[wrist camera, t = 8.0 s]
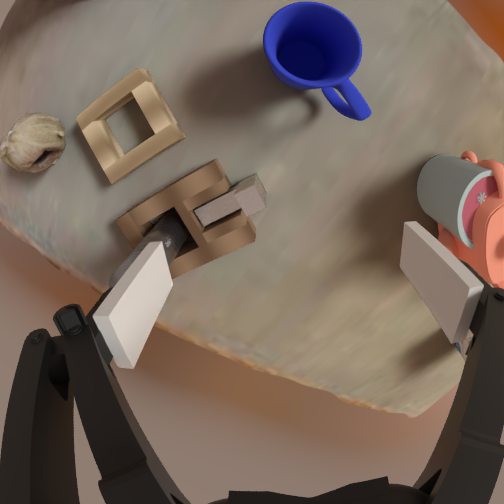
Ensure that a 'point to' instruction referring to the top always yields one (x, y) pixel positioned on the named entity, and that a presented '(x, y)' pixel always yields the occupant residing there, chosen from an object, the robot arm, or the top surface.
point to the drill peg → (166, 231)
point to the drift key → (234, 201)
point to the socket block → (192, 219)
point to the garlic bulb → (33, 143)
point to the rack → (154, 111)
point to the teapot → (483, 231)
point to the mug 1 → (316, 53)
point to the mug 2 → (454, 193)
